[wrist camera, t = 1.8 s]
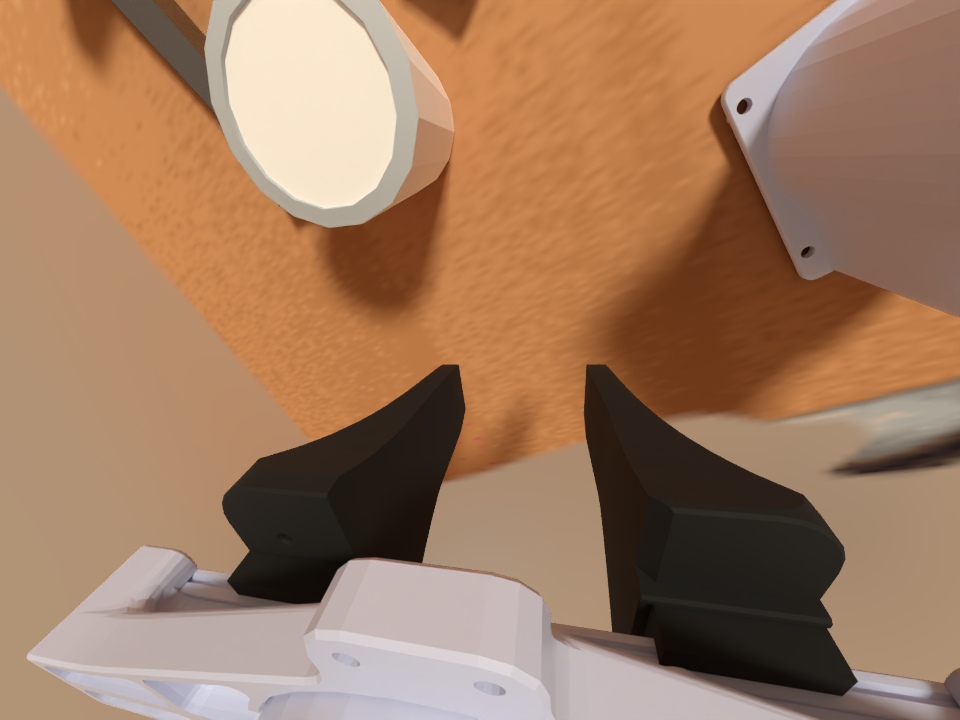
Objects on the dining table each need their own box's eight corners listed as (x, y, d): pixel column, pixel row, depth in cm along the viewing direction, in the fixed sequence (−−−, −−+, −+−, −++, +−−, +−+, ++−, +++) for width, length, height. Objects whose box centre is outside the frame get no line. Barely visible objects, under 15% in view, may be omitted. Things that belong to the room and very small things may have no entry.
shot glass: (340, 200, 18) (239, 218, 12) (318, 28, 15) (163, -61, 9) (463, 212, 18) (419, 239, 12) (471, 34, 14) (413, -60, 8)
